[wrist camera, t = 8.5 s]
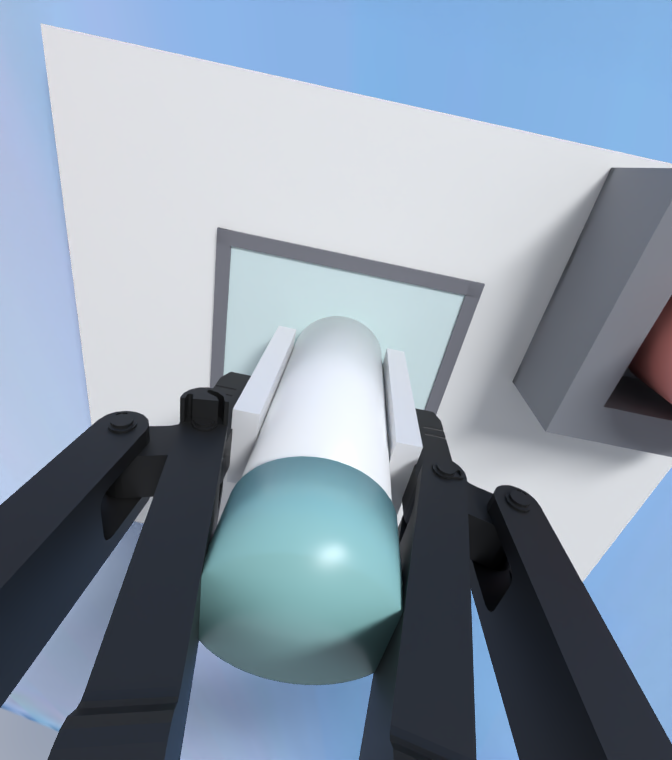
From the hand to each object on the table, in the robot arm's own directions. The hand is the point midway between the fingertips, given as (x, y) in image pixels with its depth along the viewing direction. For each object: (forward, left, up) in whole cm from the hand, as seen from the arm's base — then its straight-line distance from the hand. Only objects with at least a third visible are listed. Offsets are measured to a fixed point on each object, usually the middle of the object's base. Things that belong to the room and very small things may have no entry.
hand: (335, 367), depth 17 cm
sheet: (-2, -3, -3) cm, 4 cm away
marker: (0, 0, -1) cm, 1 cm away
